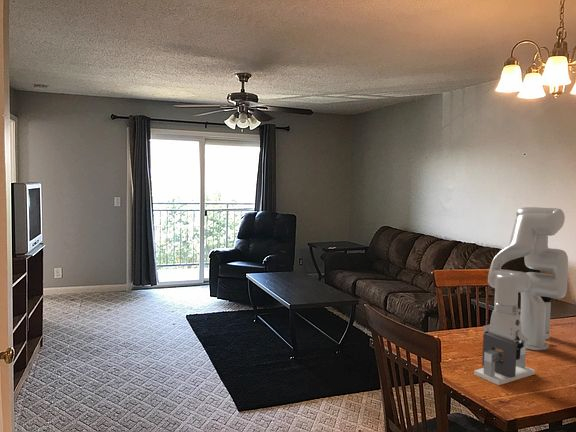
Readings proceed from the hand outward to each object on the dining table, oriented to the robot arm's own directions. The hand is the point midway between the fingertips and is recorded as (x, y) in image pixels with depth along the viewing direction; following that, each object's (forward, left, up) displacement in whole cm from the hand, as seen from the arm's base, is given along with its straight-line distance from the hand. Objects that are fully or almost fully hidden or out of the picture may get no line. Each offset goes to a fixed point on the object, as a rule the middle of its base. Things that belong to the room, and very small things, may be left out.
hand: (503, 354), depth 164 cm
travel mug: (-53, -19, -8) cm, 57 cm away
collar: (+3, 0, -5) cm, 6 cm away
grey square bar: (-1, 0, -1) cm, 1 cm away
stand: (-1, 0, -7) cm, 7 cm away
